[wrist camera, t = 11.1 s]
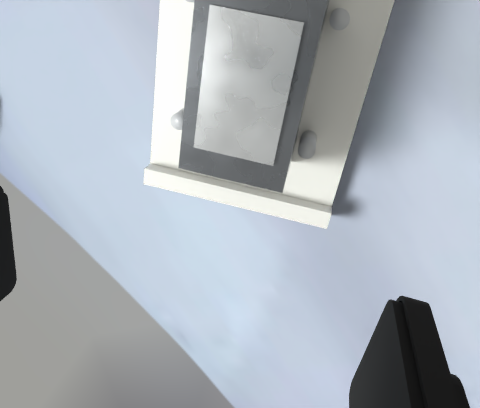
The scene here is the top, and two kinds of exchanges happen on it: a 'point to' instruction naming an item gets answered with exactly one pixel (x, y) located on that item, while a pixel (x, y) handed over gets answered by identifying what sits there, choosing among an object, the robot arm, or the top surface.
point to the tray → (312, 122)
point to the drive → (248, 87)
